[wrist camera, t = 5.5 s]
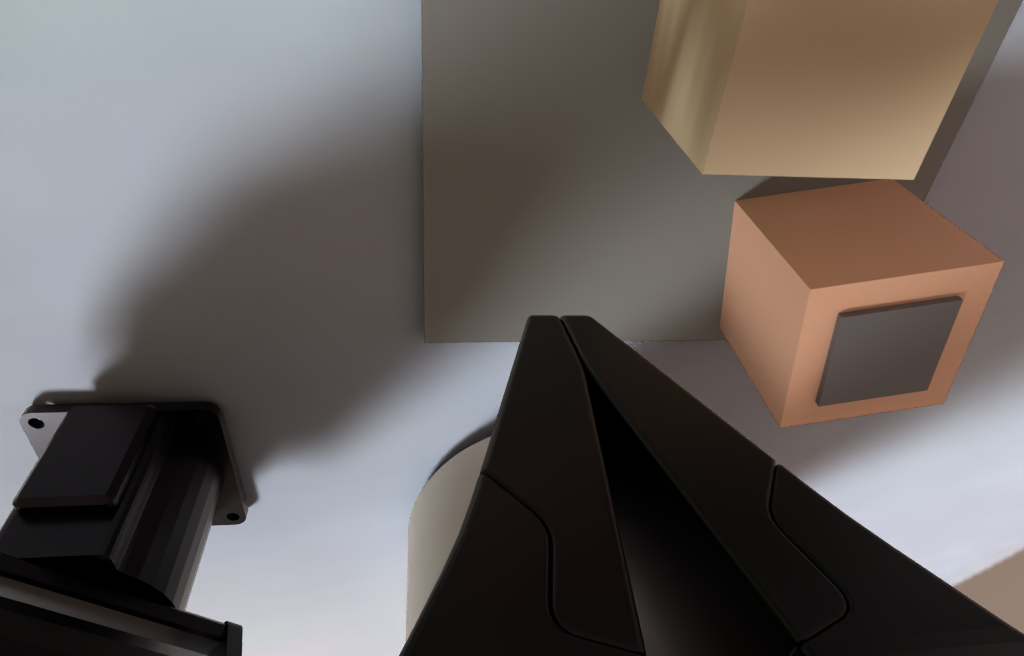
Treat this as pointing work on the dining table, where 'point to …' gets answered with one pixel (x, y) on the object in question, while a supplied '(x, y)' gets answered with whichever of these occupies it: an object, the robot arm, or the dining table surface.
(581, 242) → the mat
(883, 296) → the labelled block
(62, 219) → the dining table surface
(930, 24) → the plain block
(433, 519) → the cylinder vase
